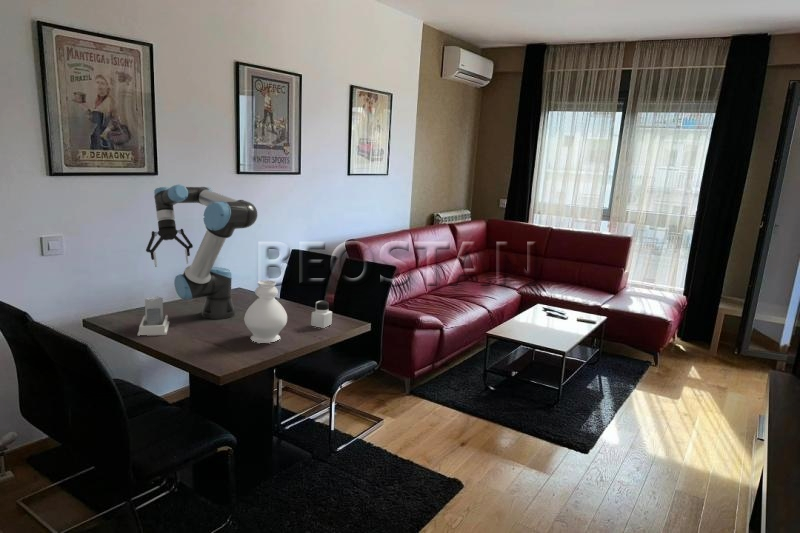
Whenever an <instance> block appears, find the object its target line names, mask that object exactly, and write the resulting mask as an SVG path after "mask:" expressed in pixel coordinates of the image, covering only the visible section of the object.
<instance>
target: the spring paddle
mask: <svg viewBox="0 0 800 533" xmlns="http://www.w3.org/2000/svg"><path fill="white" fill-rule="evenodd" d="M156 325H161V309H147V326H156Z"/></svg>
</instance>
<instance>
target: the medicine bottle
mask: <svg viewBox="0 0 800 533" xmlns="http://www.w3.org/2000/svg"><path fill="white" fill-rule="evenodd" d="M329 304H330V303H329V301H326V300H318V301H316V302H315V310H314V311H312V312H311V316H310V317H311V320H310V321H311V322H310V326H311V325H312V326H316V327H321V328H325V327H327V326H329V325H331V324H332V322H333V321H332V320H333V311H331V310H329V308H330V305H329ZM332 325H333V324H332ZM332 325H331V326H332ZM316 327H315V328H316ZM327 328H328V327H327ZM325 329H326V328H325Z"/></svg>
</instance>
